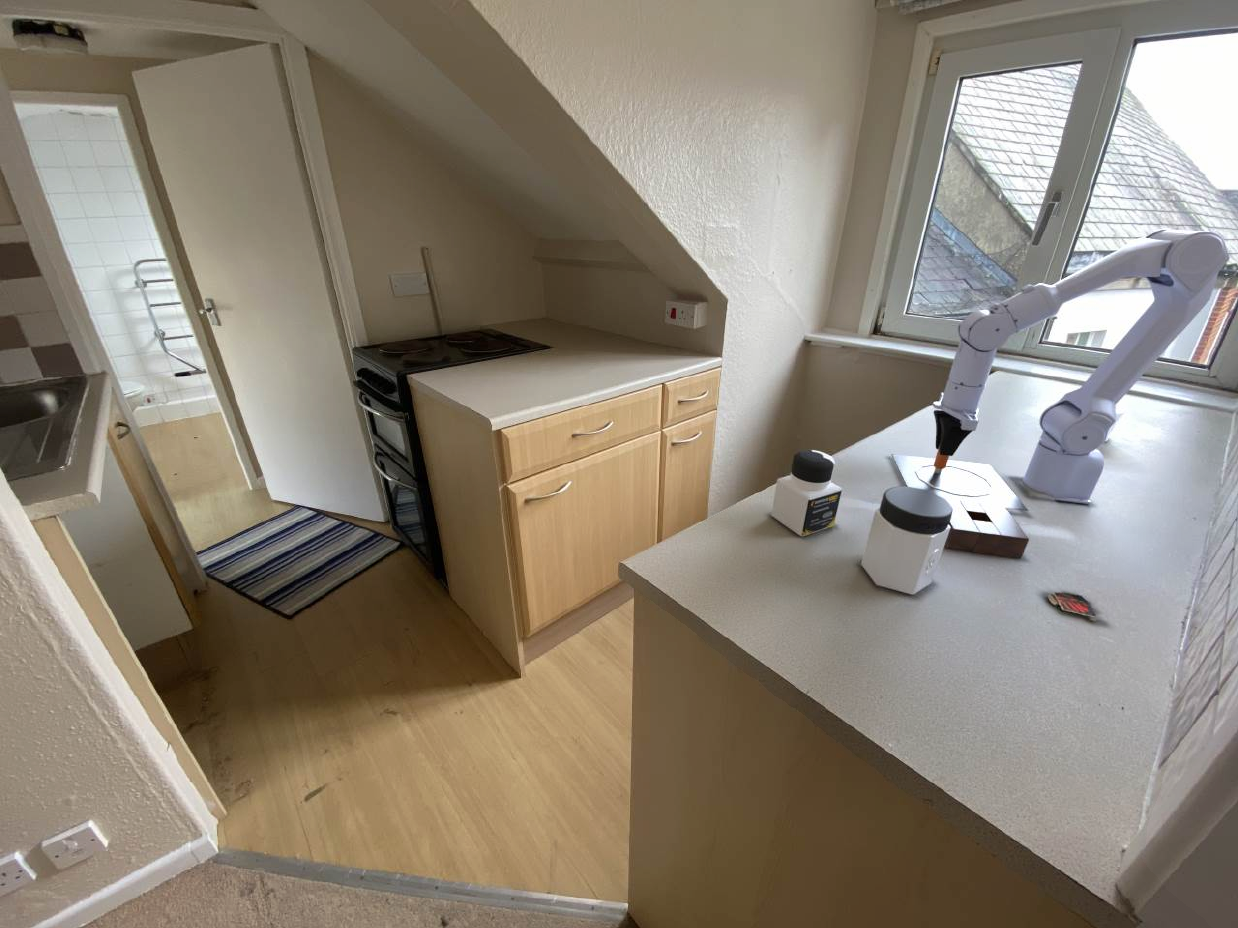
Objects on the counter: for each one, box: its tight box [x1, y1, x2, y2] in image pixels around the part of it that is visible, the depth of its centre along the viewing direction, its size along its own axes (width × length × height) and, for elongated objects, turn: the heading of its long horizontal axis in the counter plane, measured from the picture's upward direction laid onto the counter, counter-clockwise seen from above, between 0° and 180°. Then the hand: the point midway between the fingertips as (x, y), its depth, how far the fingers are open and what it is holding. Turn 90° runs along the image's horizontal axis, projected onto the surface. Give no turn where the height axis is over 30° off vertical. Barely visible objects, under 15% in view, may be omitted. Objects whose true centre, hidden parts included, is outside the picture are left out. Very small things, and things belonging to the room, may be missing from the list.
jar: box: [860, 486, 953, 596], centre depth 72 cm, size 9×8×12 cm
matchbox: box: [1046, 591, 1100, 622], centre depth 68 cm, size 5×5×1 cm
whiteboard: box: [891, 453, 1029, 512], centre depth 98 cm, size 18×18×1 cm
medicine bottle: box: [771, 449, 843, 537], centre depth 84 cm, size 7×7×12 cm
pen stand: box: [944, 498, 1030, 559], centre depth 83 cm, size 10×10×4 cm
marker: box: [934, 446, 950, 474], centre depth 99 cm, size 2×2×10 cm
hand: (943, 451), depth 99 cm, fingers closed on marker, 2 cm apart
